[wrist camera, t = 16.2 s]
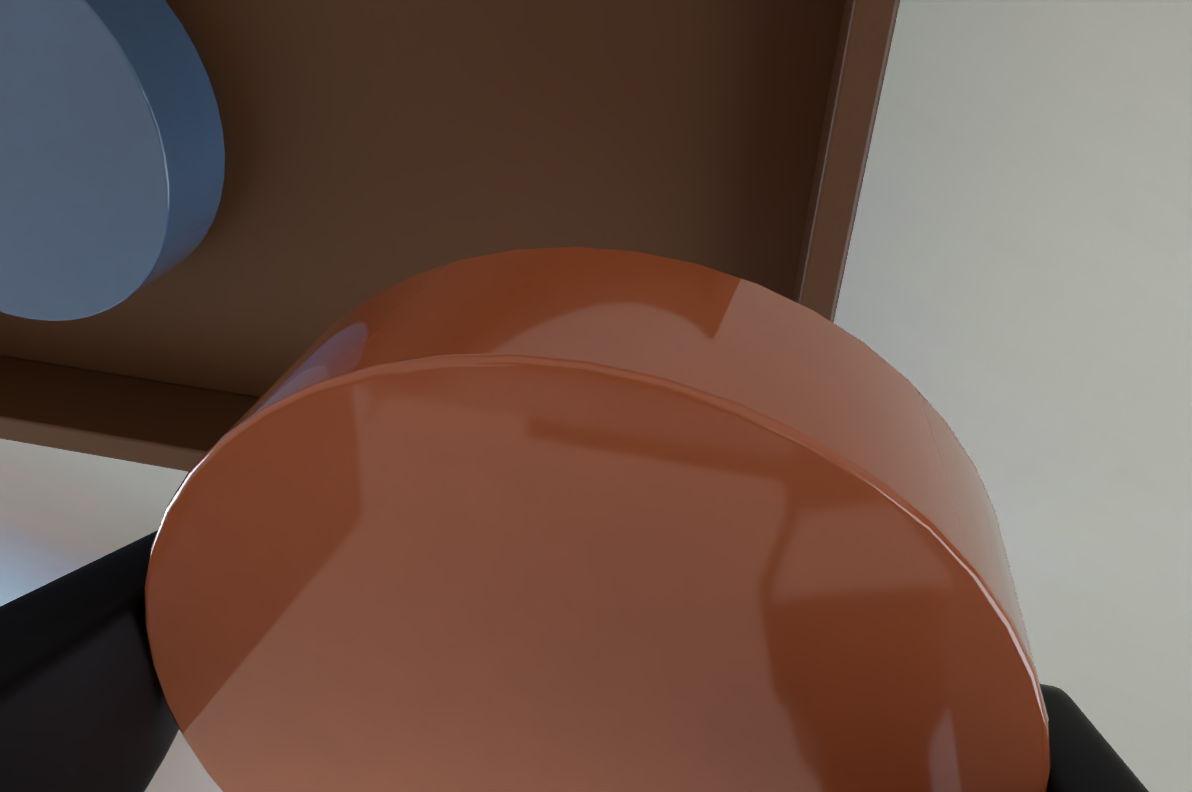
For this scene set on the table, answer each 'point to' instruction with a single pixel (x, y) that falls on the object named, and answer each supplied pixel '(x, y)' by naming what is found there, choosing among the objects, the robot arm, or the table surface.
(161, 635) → the puck terracotta
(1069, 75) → the table surface
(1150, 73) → the table surface
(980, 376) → the table surface
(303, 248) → the tray
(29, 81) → the blue puck
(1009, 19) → the table surface
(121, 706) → the robot arm
